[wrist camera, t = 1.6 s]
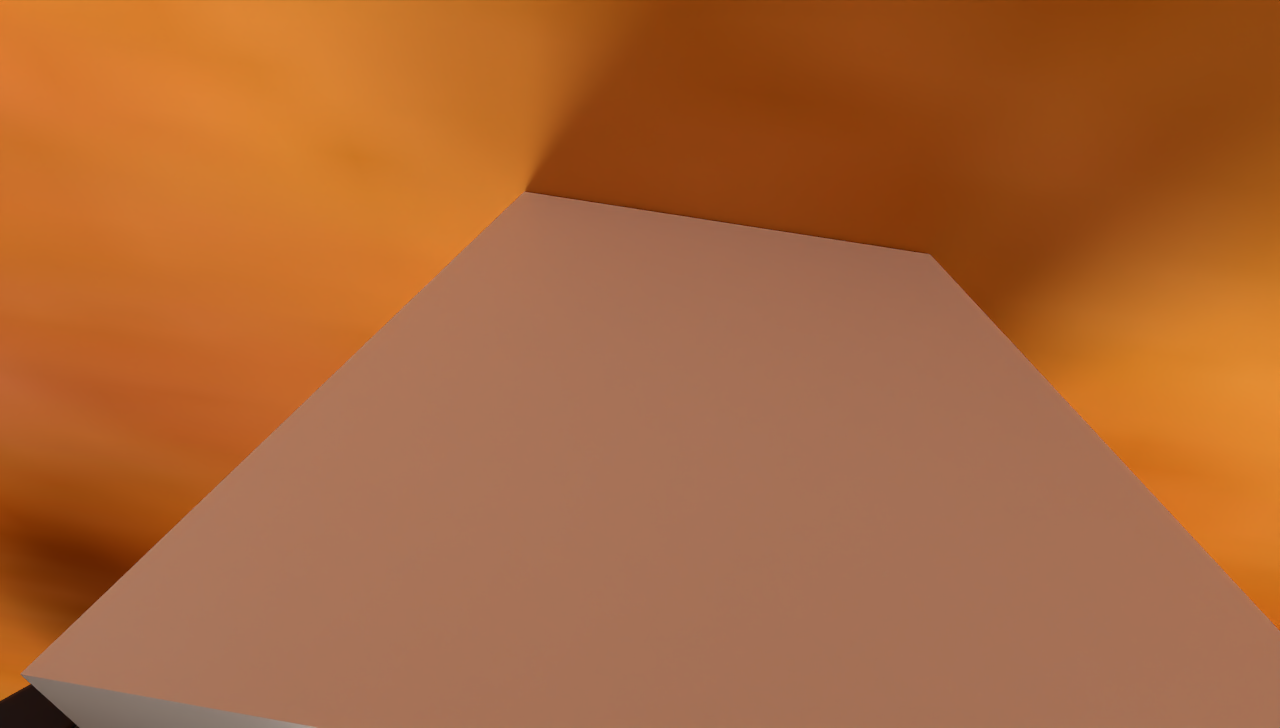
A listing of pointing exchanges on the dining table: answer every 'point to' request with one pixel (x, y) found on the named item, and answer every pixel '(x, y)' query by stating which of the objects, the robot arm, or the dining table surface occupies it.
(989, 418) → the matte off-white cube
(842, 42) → the dining table surface
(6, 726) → the robot arm
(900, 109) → the dining table surface
